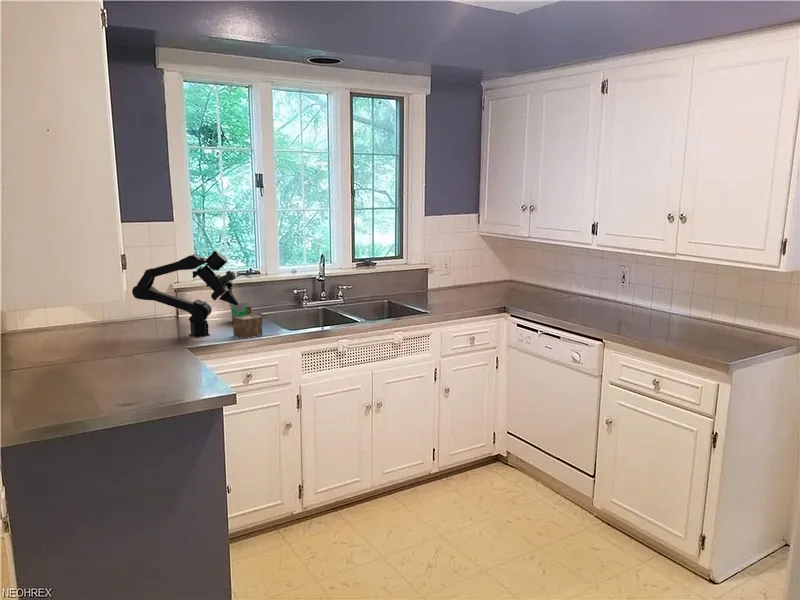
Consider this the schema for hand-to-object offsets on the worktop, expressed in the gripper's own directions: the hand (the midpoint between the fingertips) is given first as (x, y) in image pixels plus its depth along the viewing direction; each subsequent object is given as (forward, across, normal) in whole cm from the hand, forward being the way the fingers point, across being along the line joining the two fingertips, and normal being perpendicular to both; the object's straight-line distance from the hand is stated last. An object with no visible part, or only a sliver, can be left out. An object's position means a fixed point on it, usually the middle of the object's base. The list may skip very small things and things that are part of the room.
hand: (237, 304), depth 260 cm
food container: (+6, +27, +13) cm, 30 cm away
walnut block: (+12, 0, +6) cm, 14 cm away
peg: (+12, 0, +6) cm, 14 cm away
